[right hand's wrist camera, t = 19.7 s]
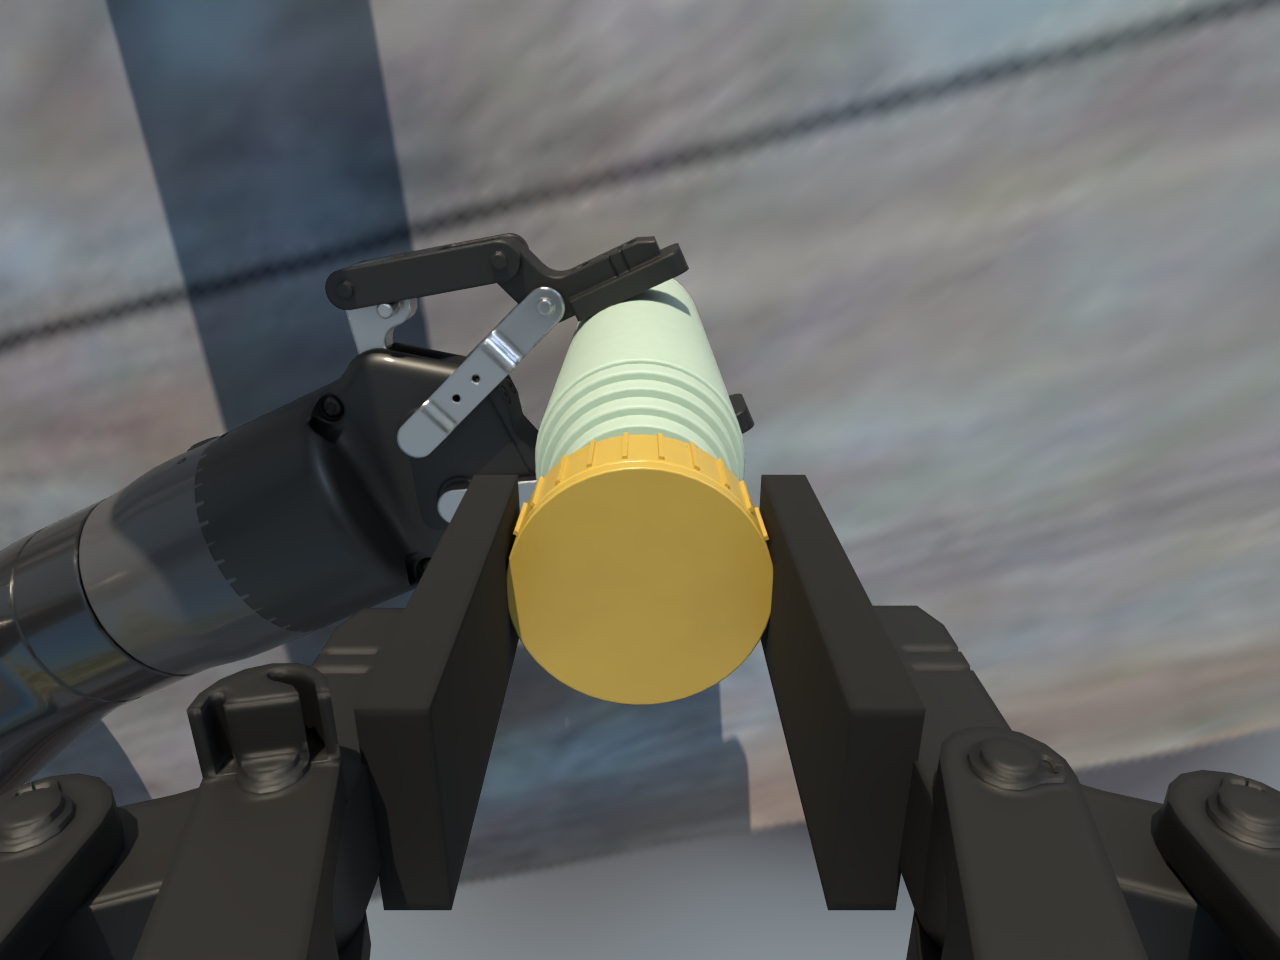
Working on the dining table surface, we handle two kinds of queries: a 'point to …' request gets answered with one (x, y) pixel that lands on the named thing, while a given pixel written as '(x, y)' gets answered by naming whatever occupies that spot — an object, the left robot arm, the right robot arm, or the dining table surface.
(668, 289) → the bottle
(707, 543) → the cap
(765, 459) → the dining table surface
